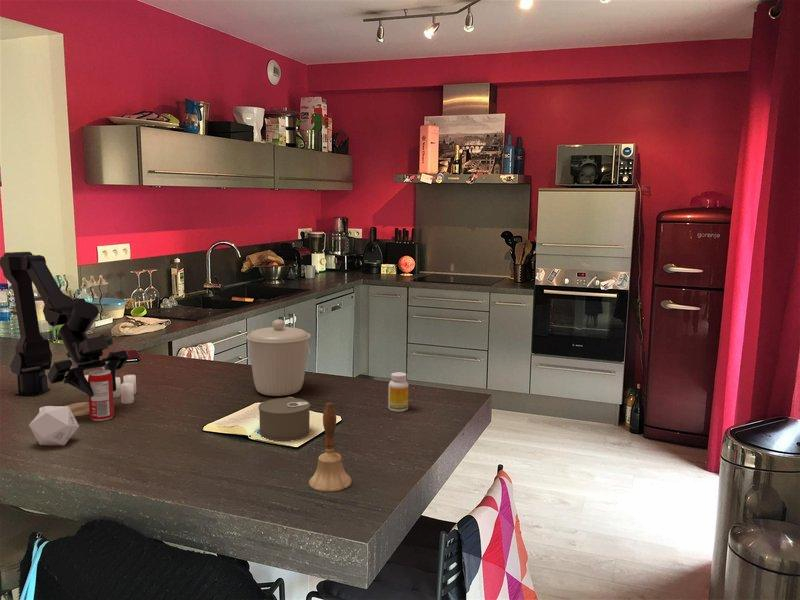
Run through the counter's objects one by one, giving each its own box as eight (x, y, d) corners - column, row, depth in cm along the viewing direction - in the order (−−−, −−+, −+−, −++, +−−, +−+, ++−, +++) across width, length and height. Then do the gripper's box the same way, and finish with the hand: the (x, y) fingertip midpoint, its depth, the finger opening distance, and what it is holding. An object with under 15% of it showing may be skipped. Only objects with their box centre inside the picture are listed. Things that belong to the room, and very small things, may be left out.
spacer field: (16, 429, 154) (15, 409, 153) (89, 390, 187) (88, 373, 186) (88, 431, 153) (87, 411, 152) (148, 392, 186) (148, 375, 185)
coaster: (50, 415, 164) (50, 413, 164) (72, 403, 174) (71, 401, 174) (89, 416, 164) (89, 414, 164) (108, 404, 174) (108, 402, 173)
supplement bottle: (385, 406, 176) (385, 372, 175) (404, 405, 178) (404, 370, 176) (392, 412, 171) (392, 377, 170) (411, 411, 173) (411, 375, 171)
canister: (234, 395, 184) (232, 322, 181) (269, 380, 200) (269, 312, 197) (289, 404, 177) (289, 327, 174) (322, 387, 194) (322, 317, 191)
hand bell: (300, 487, 125) (300, 406, 123) (321, 471, 133) (321, 395, 130) (340, 495, 122) (340, 412, 120) (358, 478, 130) (359, 400, 127)
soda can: (106, 412, 167) (104, 367, 165) (118, 417, 164) (116, 370, 162) (85, 418, 162) (83, 371, 161) (97, 422, 159) (95, 374, 158)
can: (254, 428, 158) (253, 400, 157) (302, 422, 163) (302, 395, 162) (264, 444, 147) (264, 415, 146) (316, 438, 152) (316, 409, 151)
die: (46, 456, 140) (75, 416, 142) (13, 433, 141) (43, 394, 143) (65, 456, 148) (93, 418, 150) (34, 434, 149) (62, 397, 151)
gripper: (50, 329, 155) (77, 382, 150) (123, 319, 170) (150, 367, 165) (36, 356, 160) (62, 409, 155) (108, 344, 175) (133, 391, 170)
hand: (103, 393), depth 161 cm, fingers closed on soda can, 5 cm apart
